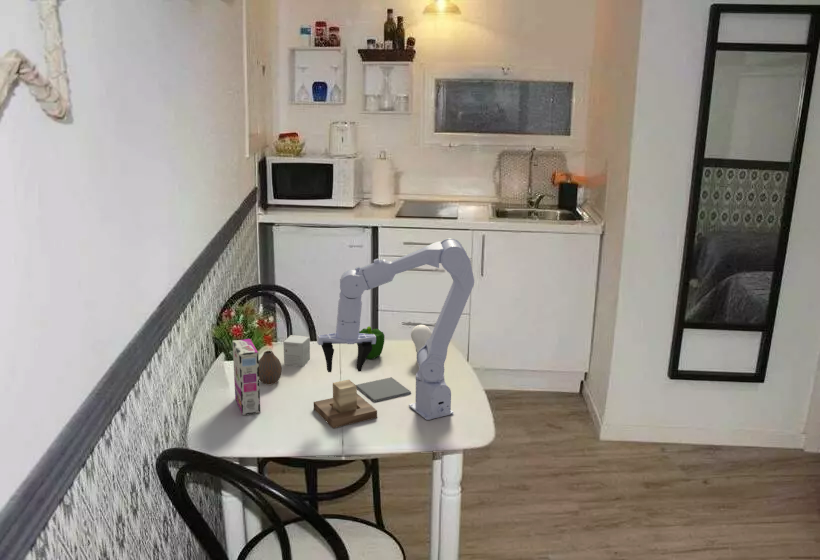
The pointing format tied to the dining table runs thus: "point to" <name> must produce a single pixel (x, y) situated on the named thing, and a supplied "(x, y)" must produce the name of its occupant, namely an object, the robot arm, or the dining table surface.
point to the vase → (269, 368)
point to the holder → (345, 418)
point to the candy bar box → (246, 376)
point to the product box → (296, 350)
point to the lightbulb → (420, 336)
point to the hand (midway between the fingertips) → (344, 370)
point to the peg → (344, 396)
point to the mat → (383, 389)
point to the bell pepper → (379, 342)
